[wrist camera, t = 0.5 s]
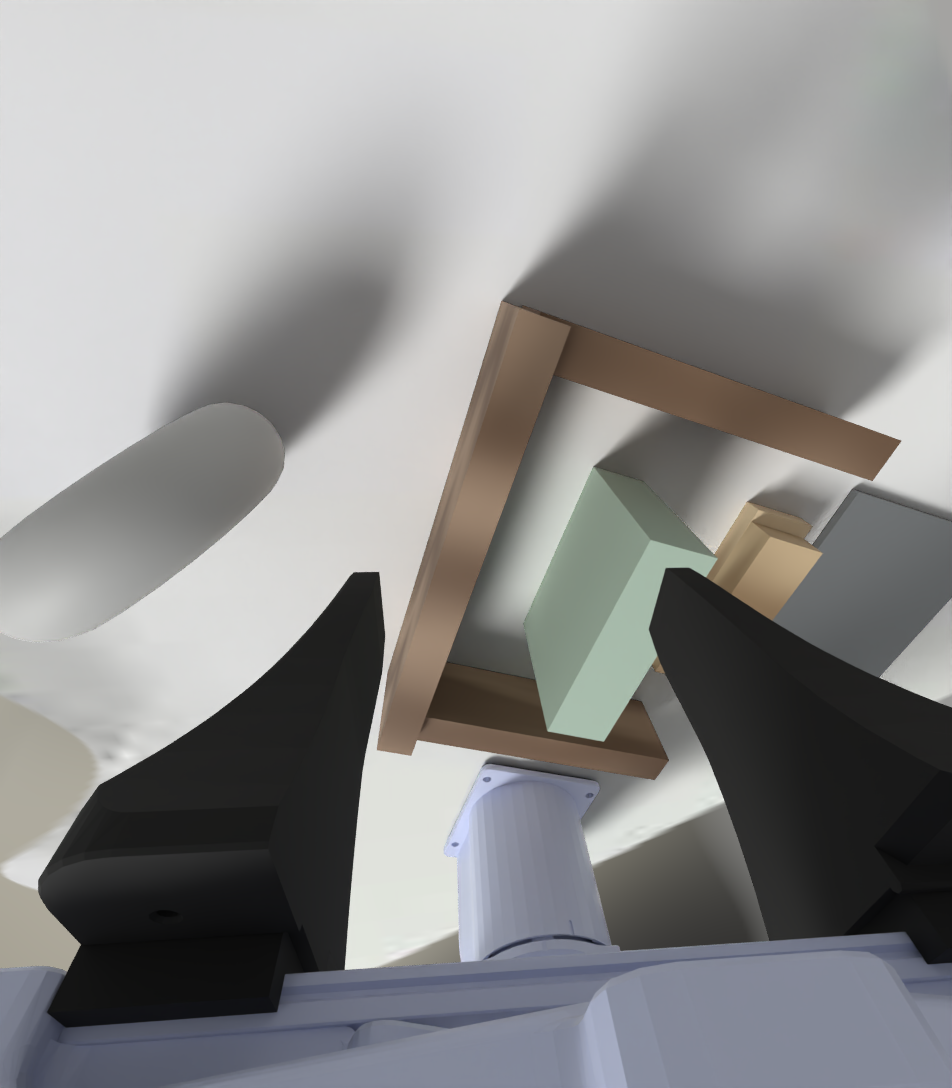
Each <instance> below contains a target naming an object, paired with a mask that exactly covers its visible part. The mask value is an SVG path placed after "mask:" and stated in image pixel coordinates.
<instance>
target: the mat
mask: <svg viewBox="0 0 952 1088" xmlns="http://www.w3.org/2000/svg"><path fill="white" fill-rule="evenodd" d="M812 546H814V547H815V548H817V549H818V550H819V551H821V552H822V553H823V554H822V555H821V557H820V558H819V559H818V560H817V562H816V563H815V564H814V566H813V567H812V568H811V570H810V571H809V572H808V574H807V575H806V576H805V578H804V579H803V580H802V582H801V583H800V584H799V586H798V587H797V588H796V590H795V591H794V592H793V594H792V595H791V596H790V598H789V599H788V600H787V602H786V603H785V604H784V606H783V607H782V608H781V610H780V611H779V612H778V614H777V615H776V616H775V618H774V619H773V620H772V621H774V622H775V623H777V624H778V625H780V626H782V627H783V628H785V629H787V630H788V631H790V632H792V633H793V634H795V635H797V636H799V637H800V638H802V639H804V640H805V641H807V642H809V643H811V644H812V645H814V646H816V647H818V648H820V649H822V650H823V651H825V652H827V653H829V654H831V655H833V656H835V657H837V658H839V659H841V660H843V661H845V662H847V663H849V664H851V665H853V666H855V667H857V668H859V669H861V670H863V671H865V672H867V673H870V674H872V675H874V676H876V677H878V678H879V677H880V676H881V674H882V673H883V672H884V671H885V670H886V669H887V668H888V667H889V666H890V665H891V664H892V662H893V661H894V660H895V659H896V658H897V657H898V656H899V655H900V654H901V653H902V651H903V650H904V649H905V648H906V647H907V646H908V645H909V644H910V643H911V642H912V640H913V639H914V638H915V637H916V636H917V635H918V634H919V633H920V632H921V631H922V630H923V628H924V627H925V626H926V625H927V624H928V623H929V622H930V621H931V620H932V619H933V617H934V616H935V615H936V614H937V613H938V612H939V611H940V610H941V609H942V608H943V606H944V605H945V604H946V603H947V602H948V601H949V600H950V599H951V598H952V521H950V520H947V519H944V518H941V517H937V516H934V515H931V514H928V513H925V512H922V511H919V510H916V509H913V508H910V507H907V506H904V505H901V504H898V503H894V502H891V501H888V500H885V499H882V498H879V497H876V496H873V495H870V494H867V493H864V492H861V491H858V490H855V489H852V491H851V492H850V493H849V495H848V496H847V498H846V499H845V500H844V502H843V503H842V505H841V506H840V507H839V509H838V510H837V512H836V513H835V514H834V516H833V517H832V519H831V520H830V521H829V523H828V524H827V526H826V527H825V528H824V530H823V531H822V533H821V534H820V535H819V537H818V538H817V540H816V541H815V542H814V544H813V545H812Z"/></svg>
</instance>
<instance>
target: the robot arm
mask: <svg viewBox="0 0 952 1088" xmlns="http://www.w3.org/2000/svg"><path fill="white" fill-rule="evenodd" d="M649 632H650V635H651V638H652V641H653V644H654V647H655V650H656V653H657V656H658V659H659V661H660V664H661V666H662V668H663V670H664V672H665V674H666V676H667V678H668V680H669V682H670V684H671V686H672V688H673V690H674V692H675V694H676V696H677V698H678V700H679V702H680V703H681V705H682V707H683V709H684V711H685V713H686V715H687V717H688V719H689V721H690V723H691V725H692V727H693V729H694V730H695V732H696V734H697V736H698V738H699V740H700V742H701V744H702V746H703V749H704V751H705V753H706V755H707V757H708V759H709V762H710V765H711V767H712V770H713V772H714V775H715V777H716V780H717V782H718V785H719V787H720V790H721V793H722V795H723V798H724V801H725V803H726V806H727V809H728V812H729V814H730V817H731V820H732V823H733V826H734V828H735V831H736V834H737V837H738V839H739V843H740V846H741V849H742V852H743V855H744V858H745V861H746V864H747V867H748V870H749V873H750V876H751V880H752V883H753V886H754V889H755V892H756V895H757V899H758V903H759V906H760V910H761V913H762V917H763V920H764V923H765V927H766V930H767V934H768V937H769V941H762V942H748V943H733V944H719V945H704V946H691V947H690V946H689V947H676V948H661V949H647V950H632V951H620V948H619V946H617V945H614V946H612V945H611V941H610V937H609V933H608V929H607V925H606V921H605V917H604V913H603V909H602V905H601V901H600V897H599V893H598V889H597V885H596V881H595V877H594V873H593V869H592V865H591V861H590V857H589V853H588V849H587V845H586V841H585V837H584V833H583V829H582V825H581V821H580V820H581V818H582V817H583V815H584V814H585V812H586V811H587V809H588V807H589V806H590V804H591V803H592V801H593V800H594V798H595V797H596V795H597V794H598V792H599V791H600V787H599V784H598V782H596V781H592V780H586V779H580V778H574V777H568V776H562V775H556V774H549V773H543V772H537V771H531V770H525V769H519V768H513V767H507V766H500V765H494V764H486V765H484V766H483V767H482V768H481V771H480V773H479V775H478V777H477V779H476V781H475V783H474V785H473V787H472V789H471V791H470V794H469V796H468V798H467V800H466V802H465V804H464V806H463V808H462V810H461V812H460V815H459V817H458V819H457V821H456V823H455V825H454V827H453V829H452V831H451V833H450V836H449V838H448V840H447V842H446V844H445V846H444V854H445V855H446V856H449V857H457V870H458V914H459V950H460V957H461V962H456V963H442V964H426V965H412V966H397V967H383V968H368V969H353V970H345V956H346V943H347V930H348V917H349V905H350V893H351V881H352V870H353V858H354V848H355V838H356V827H357V817H358V807H359V798H360V789H361V779H362V771H363V765H364V759H365V753H366V748H367V743H368V738H369V733H370V729H371V724H372V719H373V714H374V709H375V705H376V700H377V695H378V690H379V685H380V680H381V675H382V667H383V656H384V643H385V629H384V618H383V608H382V597H381V586H380V576H379V572H354V573H353V574H352V575H351V576H350V577H349V578H348V580H347V581H346V582H345V584H344V585H343V587H342V588H341V589H340V591H339V592H338V593H337V595H336V596H335V597H334V599H333V600H332V601H331V603H330V604H329V605H328V606H327V608H326V609H325V610H324V611H323V613H322V614H321V615H320V616H319V617H318V619H317V620H316V621H315V622H314V623H313V625H312V626H311V627H310V628H309V629H308V630H307V632H306V633H305V634H304V635H303V636H302V637H301V638H300V639H299V640H298V641H297V642H296V643H295V644H294V645H293V647H292V648H291V649H290V650H289V651H288V652H287V653H286V654H285V655H284V656H283V657H282V658H281V659H280V660H279V661H278V662H277V663H276V664H275V665H274V666H273V667H272V668H270V669H269V670H268V671H267V672H266V673H265V674H264V675H263V676H262V677H261V678H259V679H258V680H257V681H256V682H255V683H254V684H253V685H251V686H250V687H249V688H248V689H246V690H245V691H244V692H243V693H241V694H240V695H239V696H238V697H236V698H235V699H234V700H232V701H231V702H230V703H229V704H227V705H226V706H225V707H223V708H222V709H221V710H220V711H218V712H217V713H216V714H214V715H213V716H211V717H210V718H209V719H207V720H206V721H204V722H203V723H201V724H200V725H198V726H197V727H196V728H194V729H193V730H191V731H190V732H188V733H187V734H185V735H183V736H182V737H180V738H179V739H177V740H176V741H174V742H173V743H171V744H170V745H168V746H166V747H165V748H163V749H161V750H160V751H158V752H157V753H155V754H153V755H151V756H150V757H148V758H146V759H144V760H143V761H141V762H139V763H138V764H136V765H134V766H132V767H131V768H129V769H127V770H125V771H124V772H122V773H120V774H118V775H117V776H115V777H113V778H111V779H110V780H108V781H106V782H104V783H102V784H100V785H99V786H98V787H97V789H96V790H95V792H94V793H93V795H92V796H91V797H90V799H89V800H88V801H87V803H86V804H85V806H84V807H83V808H82V810H81V811H80V813H79V815H78V816H77V818H76V819H75V821H74V823H73V824H72V826H71V828H70V829H69V831H68V832H67V834H66V836H65V837H64V839H63V841H62V842H61V844H60V845H59V847H58V849H57V850H56V852H55V854H54V855H53V857H52V858H51V860H50V862H49V863H48V865H47V867H46V868H45V870H44V871H43V873H42V875H41V876H40V878H39V880H38V892H39V895H40V898H41V899H42V901H43V903H44V904H45V906H46V907H47V909H48V910H49V911H50V912H51V913H52V914H53V915H54V916H55V917H56V918H57V919H58V921H59V922H60V923H61V924H62V925H63V926H64V927H65V928H66V929H67V930H68V931H69V932H70V933H71V934H72V935H73V936H74V937H75V939H77V941H78V942H79V943H80V944H81V946H80V948H79V950H78V952H77V954H76V956H75V958H74V960H73V962H72V964H71V966H70V968H69V970H68V972H66V971H64V970H63V969H59V968H54V967H48V966H31V967H16V968H1V969H0V1088H952V708H951V707H949V706H946V705H943V704H940V703H938V702H935V701H933V700H930V699H928V698H925V697H923V696H920V695H918V694H915V693H913V692H910V691H908V690H906V689H903V688H901V687H899V686H897V685H894V684H892V683H890V682H887V681H885V680H883V679H881V678H878V677H876V676H874V675H872V674H870V673H867V672H865V671H863V670H861V669H859V668H857V667H855V666H853V665H851V664H849V663H847V662H845V661H843V660H841V659H839V658H837V657H835V656H833V655H831V654H829V653H827V652H825V651H823V650H822V649H820V648H818V647H816V646H814V645H812V644H811V643H809V642H807V641H805V640H804V639H802V638H800V637H799V636H797V635H795V634H793V633H792V632H790V631H788V630H787V629H785V628H783V627H782V626H780V625H778V624H777V623H775V622H774V621H772V620H770V619H769V618H767V617H766V616H764V615H762V614H761V613H759V612H758V611H756V610H755V609H753V608H752V607H750V606H749V605H747V604H745V603H744V602H742V601H741V600H739V599H738V598H736V597H735V596H733V595H732V594H730V593H729V592H727V591H726V590H724V589H723V588H721V587H720V586H718V585H717V584H715V583H714V582H712V581H711V580H709V579H708V578H706V577H704V576H703V575H701V574H700V573H698V572H696V571H694V570H693V569H691V568H666V569H665V572H664V576H663V579H662V583H661V586H660V590H659V594H658V597H657V601H656V604H655V608H654V612H653V615H652V619H651V622H650V626H649Z"/></svg>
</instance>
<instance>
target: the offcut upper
mask: <svg viewBox="0 0 952 1088" xmlns="http://www.w3.org/2000/svg"><path fill="white" fill-rule="evenodd" d="M822 554H823V553H822V552H821V551H819V550H818V549H817V548H815V547H814V546H812V545H811V544H810V543H808V542H807V541H806V540H804V539H803V538H802V537H799V536H795V535H792V534H789V533H786V532H783V531H780V530H777V529H773V528H770V527H767V526H764V525H761V524H758V523H755V522H751V523H750V524H749V526H748V527H747V529H746V531H745V532H744V534H743V535H742V537H741V538H740V540H739V541H738V543H737V544H736V546H735V547H734V549H733V550H732V552H731V553H730V555H729V557H728V558H727V560H726V561H725V563H724V564H723V566H722V567H721V569H720V570H719V572H718V573H717V575H716V576H715V578H714V579H713V581H712V582H714V583H715V584H717V585H718V586H720V587H721V588H723V589H724V590H726V591H727V592H729V593H730V594H732V595H733V596H735V597H736V598H738V599H739V600H741V601H742V602H744V603H745V604H747V605H749V606H750V607H752V608H753V609H755V610H756V611H758V612H759V613H761V614H762V615H764V616H766V617H767V618H769V619H770V620H773V619H774V618H775V616H776V615H777V614H778V612H779V611H780V610H781V608H782V607H783V606H784V604H785V603H786V602H787V600H788V599H789V598H790V596H791V595H792V594H793V592H794V591H795V590H796V588H797V587H798V586H799V584H800V583H801V582H802V580H803V579H804V578H805V576H806V575H807V574H808V572H809V571H810V570H811V568H812V567H813V566H814V564H815V563H816V562H817V560H818V559H819V558H820V557H821V555H822Z"/></svg>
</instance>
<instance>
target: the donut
mask: <svg viewBox="0 0 952 1088" xmlns="http://www.w3.org/2000/svg"><path fill="white" fill-rule="evenodd" d="M284 457H285V452H284V448H283V444H282V440H281V438H280V436H279V434H278V433H277V431H276V429H275V428H274V426H273V425H272V424H271V423H270V422H269V421H268V420H267V419H266V418H265V417H264V416H262V415H261V414H260V413H259V412H256V411H254V410H252V409H250V408H248V407H246V406H244V405H239V404H233V403H227V402H225V403H217V404H209V405H207V406H204V407H202V408H199V409H197V410H195V411H193V412H190V413H188V414H186V415H184V416H182V417H180V418H178V419H177V420H175V421H173V422H171V423H169V424H167V425H165V426H164V427H162V428H160V429H158V430H157V431H155V432H153V433H152V434H150V435H148V436H147V437H145V438H143V439H142V440H140V441H138V442H137V443H135V444H133V445H132V446H130V447H128V448H127V449H125V450H124V451H122V452H121V453H119V454H117V455H116V456H114V457H113V458H111V459H110V460H108V461H107V462H105V463H103V464H102V465H100V466H99V467H97V468H96V469H94V470H93V471H91V472H90V473H88V474H87V475H85V476H84V477H82V478H81V479H79V480H78V481H76V482H75V483H74V484H72V485H71V486H69V487H68V488H66V489H65V490H63V491H62V492H60V493H59V494H57V495H56V496H55V497H53V498H52V499H50V500H49V501H48V502H46V503H45V504H44V505H42V506H41V507H39V508H38V509H37V510H35V511H34V512H33V513H31V514H30V515H28V516H27V517H26V518H25V519H23V520H22V521H21V522H20V523H18V524H17V525H16V526H15V527H13V528H12V529H11V530H10V531H9V532H7V533H6V534H5V535H4V536H3V537H1V538H0V632H1V633H3V634H5V635H7V636H9V637H11V638H14V639H20V640H25V641H30V642H52V641H61V640H65V639H68V638H71V637H74V636H77V635H80V634H83V633H86V632H89V631H91V630H94V629H96V628H97V627H99V626H101V625H102V624H104V623H106V622H107V621H109V620H111V619H112V618H114V617H116V616H117V615H119V614H120V613H122V612H123V611H125V610H127V609H128V608H130V607H131V606H133V605H134V604H135V603H137V602H138V601H140V600H141V599H143V598H144V597H145V596H147V595H148V594H150V593H151V592H153V591H154V590H155V589H157V588H158V587H160V586H161V585H163V584H164V583H165V582H167V581H168V580H169V579H170V578H172V577H173V576H174V575H176V574H177V573H178V572H180V571H181V570H182V569H184V568H185V567H186V566H188V565H189V564H190V563H191V562H193V561H194V560H195V559H196V558H198V557H199V556H200V555H201V554H203V553H204V552H205V551H206V550H207V549H209V548H210V547H211V546H212V545H214V544H215V543H216V542H217V541H218V540H220V539H221V538H222V537H223V536H224V535H225V534H227V533H228V532H229V531H230V530H231V529H232V528H233V527H234V526H236V525H237V524H238V523H239V522H240V521H241V520H242V519H243V518H244V517H246V516H247V515H248V514H249V513H250V512H251V511H252V510H253V509H254V508H255V507H256V506H257V505H258V504H259V503H260V502H261V501H262V500H263V499H264V498H265V497H266V496H267V495H268V494H269V493H270V492H271V490H272V489H273V487H274V486H275V484H276V483H277V481H278V479H279V477H280V475H281V473H282V471H283V468H284Z"/></svg>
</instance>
